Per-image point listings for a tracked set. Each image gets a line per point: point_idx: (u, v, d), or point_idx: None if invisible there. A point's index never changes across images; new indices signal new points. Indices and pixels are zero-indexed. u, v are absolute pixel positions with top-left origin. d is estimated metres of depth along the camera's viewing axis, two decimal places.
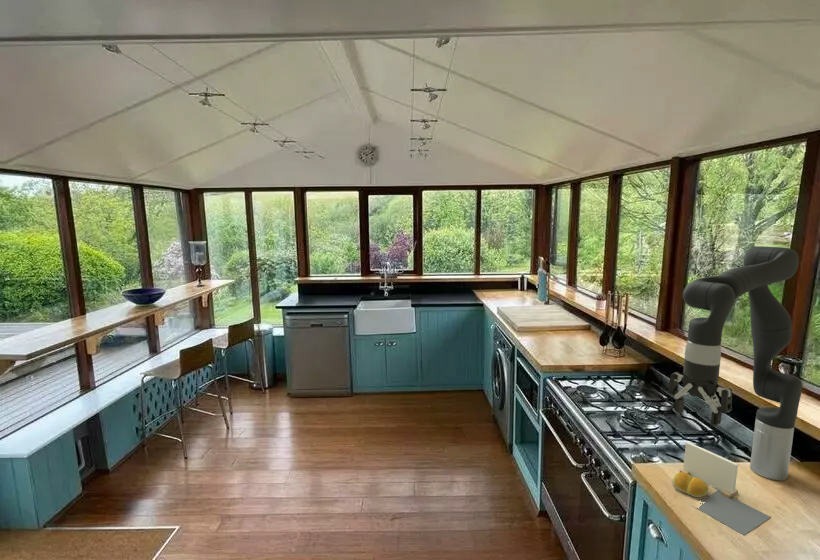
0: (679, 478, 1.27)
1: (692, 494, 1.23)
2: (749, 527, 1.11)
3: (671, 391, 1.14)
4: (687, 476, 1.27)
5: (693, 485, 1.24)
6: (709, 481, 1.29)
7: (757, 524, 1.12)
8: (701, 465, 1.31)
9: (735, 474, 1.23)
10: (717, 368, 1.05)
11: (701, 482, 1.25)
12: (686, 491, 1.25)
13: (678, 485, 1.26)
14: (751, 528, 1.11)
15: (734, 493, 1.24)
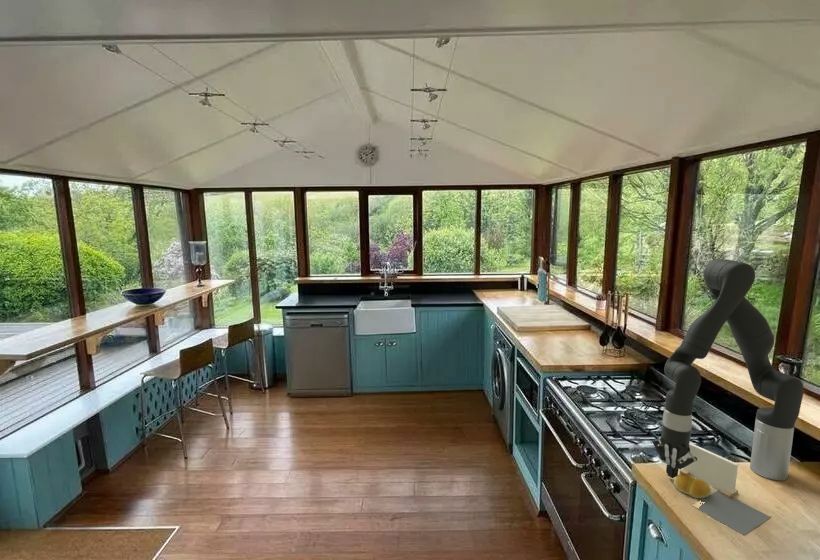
0: (681, 479, 1.26)
1: (694, 495, 1.23)
2: (749, 527, 1.11)
3: (663, 457, 1.32)
4: (689, 477, 1.27)
5: (695, 486, 1.23)
6: (709, 481, 1.29)
7: (757, 524, 1.12)
8: (701, 465, 1.31)
9: (735, 474, 1.23)
10: (688, 434, 1.26)
11: (703, 483, 1.24)
12: (688, 492, 1.24)
13: (681, 486, 1.25)
14: (751, 528, 1.11)
15: (734, 493, 1.24)
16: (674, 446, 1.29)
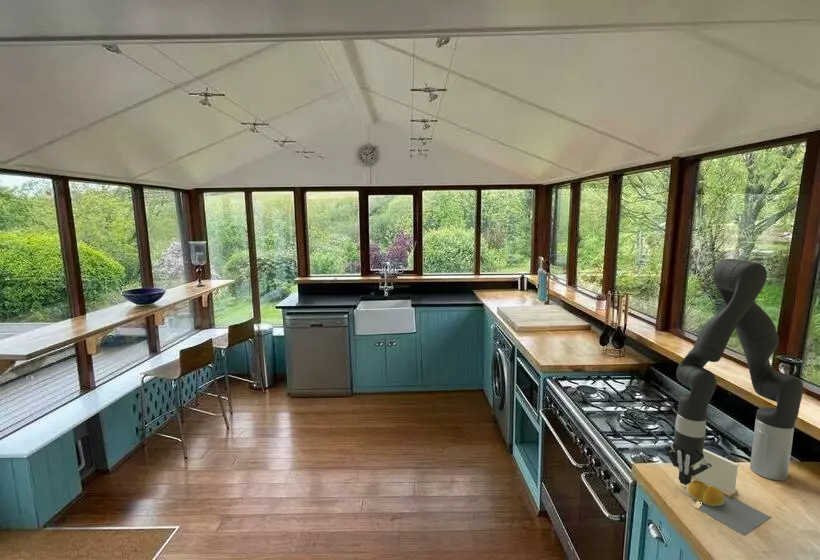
0: (693, 487, 1.23)
1: (708, 503, 1.19)
2: (749, 527, 1.11)
3: (675, 464, 1.29)
4: (702, 485, 1.23)
5: (708, 494, 1.20)
6: (709, 481, 1.29)
7: (757, 524, 1.12)
8: None
9: (735, 474, 1.23)
10: (702, 440, 1.23)
11: (717, 491, 1.20)
12: (701, 500, 1.20)
13: (693, 494, 1.22)
14: (751, 528, 1.11)
15: (734, 493, 1.24)
16: (687, 452, 1.26)
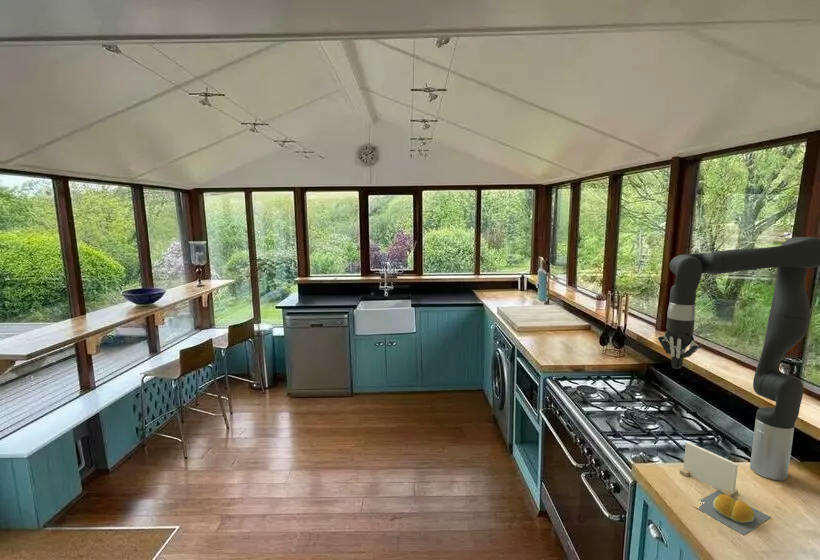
0: (721, 502, 1.16)
1: (737, 520, 1.13)
2: (749, 527, 1.11)
3: (668, 351, 1.40)
4: (730, 499, 1.17)
5: (738, 510, 1.13)
6: (709, 481, 1.29)
7: (757, 524, 1.12)
8: (701, 465, 1.31)
9: (735, 474, 1.23)
10: (692, 323, 1.33)
11: (746, 506, 1.14)
12: (730, 516, 1.14)
13: (721, 509, 1.15)
14: (751, 528, 1.11)
15: (734, 493, 1.24)
16: (678, 337, 1.36)
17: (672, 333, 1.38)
